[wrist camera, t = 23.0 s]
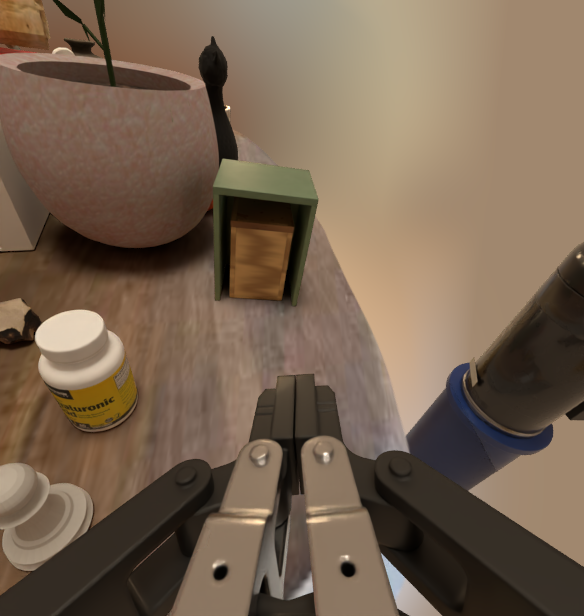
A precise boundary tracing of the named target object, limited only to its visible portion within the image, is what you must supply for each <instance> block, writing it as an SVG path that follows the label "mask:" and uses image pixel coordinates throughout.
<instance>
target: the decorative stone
mask: <svg viewBox="0 0 584 616" xmlns="http://www.w3.org/2000/svg"><path fill="white" fill-rule="evenodd" d="M40 325H41V321H40V319H39V316H37V315H36V314H35V313H34V312H33V311H32V310H31V308H30V306H27V304H26V302H25V301H24V300H22V299H21V298H19V299H14V300H10V301H6V302H0V341H2V342H4V343H5V344H11V343H15V342H17V341H30V340H33V338H34V337H33V336H34V335H33V334H34V332H35V331H37V329H38V328H39V327H40Z"/></svg>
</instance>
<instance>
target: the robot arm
mask: <svg viewBox="0 0 584 616" xmlns="http://www.w3.org/2000/svg"><path fill="white" fill-rule="evenodd" d="M460 389H461V393H462V396H463V398H464V400H465V402H466V403H467V405H468V406H469V408H470V409H471V410H472V411H473V413H474V414H475V415H476V416H477V417H478V418H479V419H480V420H482V421H483V422H484V423H485V424H487V425H488V426H489V427H491V428H492V429H494V430H496V431H498V432H500V433H502V434H504V435H506V436H509V437H512V438H517V439H530V438H533V437H535V436H537V435H538V434H540V433H541V432H542V431H544V429H545V428H546V427H547V426H549V425H550V424H552V423H553V422H554V421H556V420H557V419H559V418H560V417H562V416H563V415H564V414H566V416H567V417H568V418H569V419H570V420H584V242H583V243H581V244H579V245H578V246H577V247H575V248H574V249H573V250H572V251H571V252H570V253H569V255H568V256H567V257H566V258H565V259H564V260H563V262H562V263H561V264H560V265H559V266H558V267H557V269H556V270H555V271H554V272H553V273H552V274H551V276H550V277H549V278H548V279H547V280H546V281H545V283H544V284H543V285H542V286H541V287H540V288H539V289H538V291H537V292H536V294H534V296H533V297H532V298H531V299H530V300H529V301H528V302H527V304H526V305H525V306H524V307H523V308H522V309H521V311H520V312H519V313H518V314H517V315H516V316H515V318H514V319H513V320H512V321H511V322H510V324H509V325H508V326H507V327H506V328H505V329H504V330H503V331H502V333H501V334H500V335H499V336H498V337H497V338H496V340H495V341H494V342H493V343H492V344H491V346H490V347H489V348H488V349H487V350H486V351H485V352H484V353H483V355H482V356H481V357H480V358H479V359H478V360H477V362H476V363H475V360H474V358H473V359H472V360H471V361H470V369H469V370H468V371H467V372H466V373H465V374H464V375H463V377H462V378H461V381H460ZM299 481H300V491H301V494H305V505H306V516H307V527H308V538H309V549H310V559H311V570H312V581H313V591H314V592H312V593H309V594H307V595H304V596H301V597H298V598H295V599H292V600H283V587H284V576H285V567H286V558H287V549H288V540H289V531H290V521H291V516H290V511H291V497H292V495H299ZM174 531H175V533H174V534H173V535H172V536H171V537H170V538H169V539H168V540H167V541H165V542H164V543H163V544H162V545H161V546H160V547H159V548H158V549H157V550H156V551H154V552H153V553H152V554H151V555H150V556H149V557H148V558H147V559H146V560H145V561H143V562H142V563H141V564H140V565H139V566H138V567H137V568H136V569H135V570H134V568H135V567H136V566H137V565H138V564H139V563H140V562H141V561H142V560H143V559H145V558H146V557H147V556H148V555H149V554H150V553H151V552H152V551H153V550H154V549H156V548H157V547H158V546H159V545H160V544H161V543H162V542H163V541H164V540H166V539H167V538H168V537H169V536H170V535H171V534H172V533H173V532H174ZM381 553H382V554H383V555H384V556H385V557H386V558H387V559H388V561H389V562H390V563H391V564H392V565H393V566H394V567H395V568H396V569H397V570H398V571H399V572H400V573H401V574H402V575H403V576H404V577H405V578H406V579H407V580H408V581H409V582H410V583H411V584H412V585H413V586H414V587H415V588H416V589H417V590H418V591H419V592H420V593H421V594H422V595H423V596H424V597H425V598H426V599H427V600H428V601H429V602H430V604H432V606H433V607H434V608H435V609H436V610H437V611H438V612H439V613H440V614H441V615H442V616H584V567H583V566H581V565H580V564H578V563H577V562H575V561H574V560H572V559H571V558H569V557H567V556H566V555H564V554H563V553H561V552H560V551H558V550H557V549H555V548H554V547H552V546H550V545H549V544H548V543H546V542H545V541H543V540H542V539H540V538H538V537H537V536H535V535H534V534H532V533H531V532H529V531H528V530H526V529H525V528H523V527H522V526H520V525H519V524H517V523H515V522H514V521H512V520H511V519H509V518H508V517H506V516H505V515H503V514H502V513H500V512H499V511H497V510H496V509H494V508H492V507H491V506H490V505H488V504H487V503H485V502H483V501H482V500H480V499H479V498H477V497H476V496H474V495H473V494H471V493H470V492H468V491H467V490H465V489H464V488H462V487H461V486H459V485H458V484H456V483H455V482H453V481H451V480H450V479H448V478H447V477H445V476H444V475H442V474H441V473H439V472H438V471H436V470H435V469H433V468H432V467H430V466H429V465H427V464H425V463H424V462H422V461H421V460H419V459H418V458H416V457H415V456H413V455H411V454H409V453H406V452H403V451H395V450H394V451H387V452H384V453H382V454H381V455H379V456H378V457H377V459H376V461H375V460H371V459H367V458H363V457H360V456H357V455H355V454H354V453H352V452H351V451H350V450H348V449H347V447H346V446H345V444H344V442H343V439H342V434H341V428H340V422H339V416H338V411H337V405H336V399H335V393H334V392H333V391H332V389H331V388H330V387H329V386H328V385H327V386H315V381H314V374H303V375H297V377H296V376H295V375H288V376H278V377H277V384H276V389H265V390H264V392H263V393H262V394H261V395H260V396H259V398H258V403H257V408H256V412H255V416H254V421H253V426H252V430H251V435H250V439H249V443H248V444H246V445H245V446H244V447H243V448H242V449H241V451H240V452H239V454H238V457H237V459H236V460H235V461H233V462H231V463H229V464H226V465H223V466H220V467H217V468H214V469H211V468H210V465H209V464H208V463H207V462H205V461H204V460H200V459H191V460H187V461H184V462H182V463H180V464H178V465H176V466H175V467H173V468H172V469H171V470H169V471H168V472H167V473H165V474H164V475H163V476H161V477H160V478H158V479H157V480H156V481H154V482H153V483H152V484H150V485H149V486H148V487H146V488H145V489H144V490H142V491H141V492H140V493H138V494H137V495H135V496H134V497H133V498H131V499H130V500H129V501H127V502H126V503H125V504H123V505H122V506H121V507H119V508H118V509H117V510H115V511H114V512H113V513H111V514H110V515H108V516H107V517H106V518H104V519H103V520H102V521H100V522H99V523H98V524H96V525H95V526H94V527H92V528H91V529H90V530H88V531H87V532H86V533H84V534H83V535H81V536H80V537H79V538H77V539H76V540H75V541H73V542H72V543H71V544H69V545H68V546H67V547H65V548H64V549H63V550H61V551H60V552H58V553H57V554H56V555H54V556H53V557H52V558H50V559H49V560H48V561H46V562H45V563H44V564H42V565H41V566H40V567H38V568H37V569H36V570H34V571H33V572H31V573H30V574H29V575H27V576H26V577H25V578H23V579H22V580H21V581H19V582H18V583H17V584H15V585H14V586H13V587H11V588H10V589H8V590H7V591H6V592H4V593H3V594H2V595H0V616H166V615H167V614H168V613H169V612H170V610H171V609H172V611H171V613H170V616H409V615H407V614H405V613H403V612H402V611H401V610H399V609H397V606H396V603H395V599H394V596H393V593H392V589H391V586H390V582H389V579H388V576H387V572H386V569H385V566H384V562H383V559H382V556H381ZM133 570H134V571H133Z"/></svg>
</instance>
